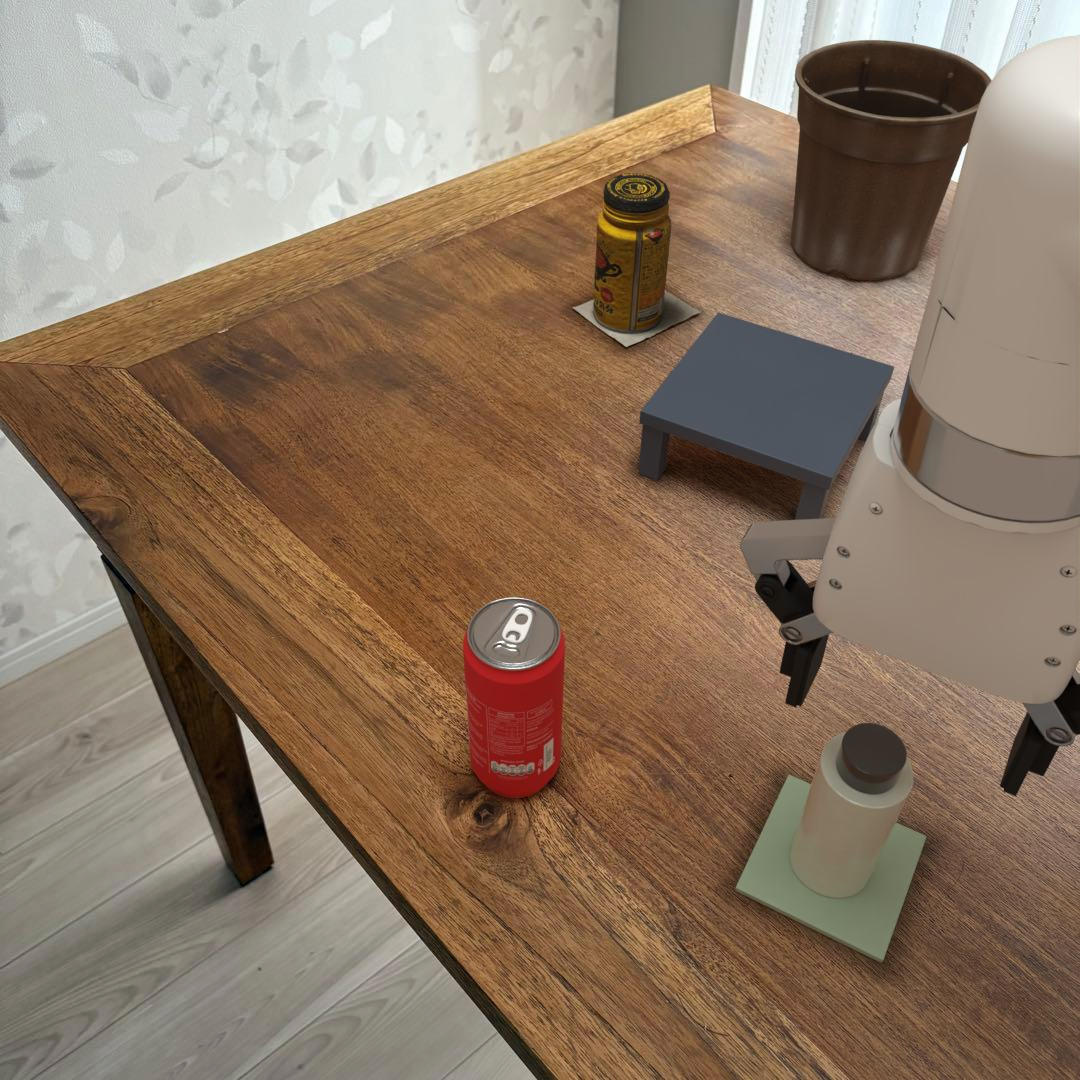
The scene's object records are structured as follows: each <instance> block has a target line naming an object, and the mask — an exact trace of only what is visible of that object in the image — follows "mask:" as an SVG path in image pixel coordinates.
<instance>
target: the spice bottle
mask: <svg viewBox="0 0 1080 1080" xmlns="http://www.w3.org/2000/svg"><path fill="white" fill-rule="evenodd" d="M820 753H821V754H820V757H819V759H818V762H817V765H816V768H815V771H814V774H813V777H812V780H811V783H810V784H811V786H810V789H809V792H808V795H807V798H806V801H805V804H804V807H803V810H802V813H801V815H800V818H799V821H798V824H797V827H796V830H795V833H794V836H793V839H792V842H791V845H790V851H789V856H790V862H791V865H792V868H793V870H794V872H795V874H796V875H797V877H798V878H799V879H800V881H801V882H802V883H803V884H804V885H806V886H807V887H808V888H809V889H811V890H812V891H814V892H816V893H818V894H820V895H823V896H827V897H832V898H845V897H850V896H852V895H855V894H857V893H859V892H860V891H861V890H863V889H864V888H865V887H866V885H867V884H868V882H869V880H870V878H871V876H872V874H873V872H874V870H875V867H876V865H877V863H878V861H879V859H880V857H881V854H882V852H883V850H884V848H885V846H886V843H887V841H888V839H889V837H890V835H891V833H892V830H893V828H894V826H895V824H896V823H898V820H899V817H900V815H901V814H902V813H901V812H902V810H903V808H904V806H905V804H906V802H907V800H908V797H909V795H910V794H911V791H912V790H913V786H914V771H913V766H912V764H911V762H910V760H909V758H908V752H907V748H906V745H905V743H904V741H903V740H902V739H901V737H900V736H899V735H898V734H897V733H896V732H895V731H893V730H892V729H890V728H889V727H887V726H884V725H882V724H880V723H879V724H878V723H873V722H862V723H858V724H855V725H853V726H851V727H849V728H848V730H846V731H844V732H840V733H838V734H836V735H834V737H832V738H831V739H829V740H828V741H827V742H826V743H825V745H824V747H823V748H822V750H821V752H820Z"/></svg>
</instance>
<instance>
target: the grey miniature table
mask: <svg viewBox="0 0 1080 1080" xmlns="http://www.w3.org/2000/svg"><path fill="white" fill-rule="evenodd" d="M894 370H895V366H894V365H891V364H887V363H884V362H881V361H878V360H874V359H871V358H868V357H865V356H862V355H859V354H858V355H857V354H856V353H852V352H848V351H846V350H843V349H839V348H835V347H833V346H830V345H825V344H824V343H823V344H822V343H819V342H816V341H812V340H809V339H806V338H803V337H800V336H797V335H793V334H789V333H786V332H784V331H781V330H777V329H774V328H770V327H767V326H765V325H762V324H761V325H760V324H758V323H754V322H751V321H748V320H745V319H742V318H738V317H735V316H731V315H728V314H724V313H721V312H717V313H716V315H715V316H714V317H713V318H712V319H711V321H710V322H709V323H708V325H707V326H706V327H705V328H704V330H703V331H702V332H701V334H700V335H699V336H698V337H697V338H696V340H695V341H694V342H693V343H692V345H691V346H690V347H689V349H688V350H687V351H686V353H684V355H683V356H682V357H681V358H680V360H679V361H678V363H677V364H676V365H675V366H674V368H672V370H671V372H670V373H669V374H668V375H667V376H666V378H665V379H664V380H663V382H662V383H661V384H660V385H659V387H658V388H657V389H656V391H655V392H654V393H653V394H652V396H651V397H650V398H649V399H648V400H647V402H646V403H645V404H644V405H643V406H642V408H641V409H640V412H639V422H638V423H639V424H640V425H642V427H641V440H640V448H639V457H638V458H639V460H638V468H637V474H638V475H642V476H644V477H647V478H649V479H651V480H654V481H658V480H659V479H660V478H661V476H662V475H663V474H664V472H665V471H666V469H667V466H668V465H667V464H668V455H669V448H670V439H671V436H674V437H676V438H679V439H682V440H684V441H688V442H691V443H694V444H696V445H700V446H701V447H704V448H708V449H710V450H713V451H717V452H718V453H722V454H724V455H727V456H729V457H733V458H736V459H738V460H742V461H744V462H747V463H750V464H753V465H755V466H758V467H762V468H764V469H767V470H770V471H773V472H776V473H778V474H781V475H784V476H787V477H790V478H792V479H795V480H797V481H801V482H803V485H802V488H801V492H800V497H799V501H798V505H797V509H796V513H795V517H794V520H802V519H823V518H824V516H825V513H826V508H827V504H828V500H829V497H830V493H831V489H832V486H833V484H834V482H835V480H836V478H837V477H838V475H839V474H840V471H841V470H842V468H843V466H844V464H845V462H846V461H847V459H848V457H849V455H850V454H851V452H852V450H853V448H854V446H855V445H856V444H857V443H856V442H857V441H858V439H859V440H862V441H865V442H866V440H867V438H868V436H869V434H870V432H871V430H872V428H873V426H874V424H875V423H876V421H877V419H878V413H879V410H880V407H881V403H882V400H883V397H884V393H885V391H886V388H887V387H888V385H889V383H890V382H891V380H892V377H893V374H894Z"/></svg>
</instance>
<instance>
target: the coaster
mask: <svg viewBox="0 0 1080 1080" xmlns="http://www.w3.org/2000/svg"><path fill="white" fill-rule="evenodd" d="M810 786H811V783H809V782H807V781H805V780H802V779H800V778H798V777H796V776H794V775H791V774H788V775H787V777H786V778H785V781H784V783H783V784H782V787H781V790H780V791H779V794H778V796H777V797H776V800H775V802H774V804H773V807H772V808H771V810H770V813H769V815H768V817H767V820H766V821H765V823H764V826H763V828H762V830H761V832H760V834H759V836H758V838H757V841H756V843H755V844H754V846H753V849H752V851H751V853H750V856H749V858H748V860H747V862H746V864H745V866H744V868H743V870H742V872H741V875H740V876H739V878H738V881H737V883H736V885H735V888H734V891H735V892H737V893H739V894H740V895H742V896H744V897H747V898H749V899H750V900H752V901H754V902H757V903H758V904H760V905H763V906H764V907H767V908H768V909H771V910H773V911H775V912H777V913H779V914H781V915H782V916H784V917H787V918H789V919H791V920H793V921H795V922H797V923H799V924H801V925H803V926H805V927H807V928H809V929H811V930H813V931H815V932H818V933H819V934H821V935H823V936H825V937H828V938H829V939H831V940H833V941H836V942H837V943H839V944H841V945H844V946H846V947H848V948H849V949H852V950H854V951H856V952H858V953H860V954H862V955H865V956H866V957H868V958H870V959H872V960H874V961H875V962H877V963H880V964H883V963H884V960H885V957H886V955H887V951H888V949H889V946H890V942H891V940H892V937H893V935H894V932H895V928H896V927H897V923H898V921H899V917H900V914H901V912H902V910H903V909H902V908H903V906H904V903H905V901H906V897H907V894H908V891H909V889H910V885H911V884H912V881H913V878H914V875H915V873H916V869H917V866H918V863H919V860H920V857H921V854H922V852H923V849H924V847H925V843H926V840H927V837H928V836H927V835H926V834H923V833H920V832H918V831H917V830H914V829H912V828H909V827H907V826H905V825H903V824H900V823H898V822H896V824H895V826H894V828H893V830H892V833H891V835H890V837H889V839H888V841H887V843H886V846H885V848H884V850H883V852H882V854H881V857H880V859H879V861H878V863H877V865H876V867H875V870H874V872H873V874H872V876H871V878H870V880H869V882H868V884H867V885H866V887H865V888H864V889H863V890H861V891H860V892H859V893H857V894H855V895H852V896H850V897H845V898H832V897H827V896H823V895H820V894H818V893H816V892H814V891H812V890H811V889H809V888H808V887H807V886H806V885H804V884H803V883H802V882H801V881H800V879H799V878H798V877H797V875H796V874H795V872H794V870H793V868H792V865H791V862H790V856H789V851H790V845H791V842H792V839H793V836H794V833H795V830H796V827H797V824H798V821H799V818H800V815H801V813H802V810H803V807H804V804H805V801H806V798H807V795H808V792H809V789H810Z"/></svg>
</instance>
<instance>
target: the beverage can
mask: <svg viewBox="0 0 1080 1080" xmlns="http://www.w3.org/2000/svg"><path fill="white" fill-rule="evenodd" d="M462 654H463V655H462V656H463V670H464V685H465V686H464V687H465V698H466V699H465V700H466V701H465V702H466V716H467V733H468V747H469V748H468V749H469V760H470V765H471V768H472V771H473V772H474V775H476V777H477V778H478V779H479V781H480V782H482V784H483V785H484V786H485V787H486V788H487V789H488V790H489V791H491V792H492V793H494V794H496V795H498V796H499V797H503V798H507V799H524V798H527V797H531V796H533V795H535V794H536V793H538V792H540V791H541V790H542V789H544V788H545V787H546V786H547V785H548V783H549V782H550V781H551V780H552V778H554V776H555V774H556V773H557V771H558V769H559V767H560V763H561V758H562V757H561V756H562V736H563V735H562V734H563V713H564V712H563V709H564V683H565V660H566V637H565V635H564V632H563V630H562V628H561V625H560V623H559V621H558V618H557V617H556V615H555V614H554V613H553V611H551V609H549V608H548V607H547V606H545V605H544V604H543V603H540V602H539V601H536V600H533V599H531V598H530V599H529V598H525V597H519V596H518V597H513V596H511V597H503V598H499V599H495V600H492V601H490V602H487V603H486V604H484V605H483V606H481V607H480V608H479V609H478V610H476V612H475V613H474V614H473V616H472V617H471V618H470V620H469V623H468V626H467V629H466V630H465V632H464V635H463V640H462Z"/></svg>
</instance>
